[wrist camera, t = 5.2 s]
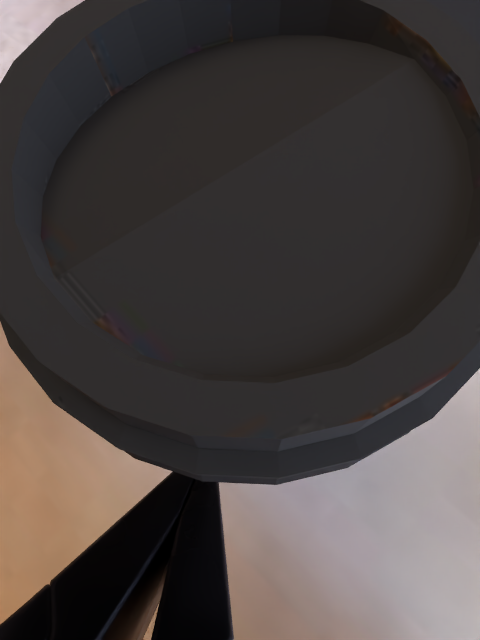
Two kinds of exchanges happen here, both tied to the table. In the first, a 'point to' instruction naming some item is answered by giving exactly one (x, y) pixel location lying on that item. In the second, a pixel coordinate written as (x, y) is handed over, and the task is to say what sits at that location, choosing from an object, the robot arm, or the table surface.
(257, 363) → the coffee cup
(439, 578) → the table surface
